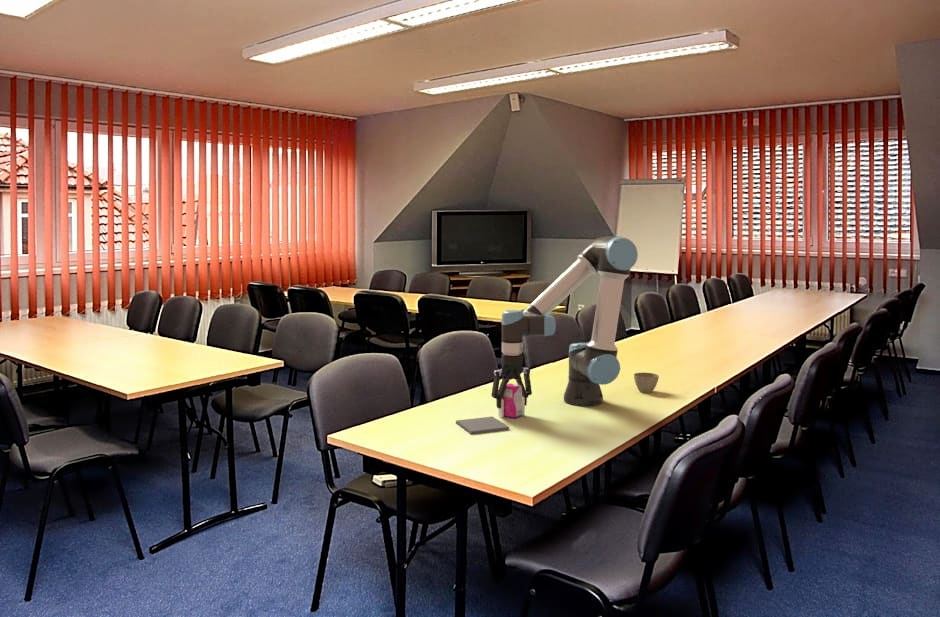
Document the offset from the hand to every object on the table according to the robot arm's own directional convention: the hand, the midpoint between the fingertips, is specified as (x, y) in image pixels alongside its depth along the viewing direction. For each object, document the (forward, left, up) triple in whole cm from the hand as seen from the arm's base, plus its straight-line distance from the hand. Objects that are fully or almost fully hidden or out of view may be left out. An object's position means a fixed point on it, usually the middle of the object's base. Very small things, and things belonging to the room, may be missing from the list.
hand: (511, 415), depth 266 cm
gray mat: (+15, +8, 0) cm, 17 cm away
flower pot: (-67, -13, 0) cm, 68 cm away
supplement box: (0, 0, 0) cm, 0 cm away
